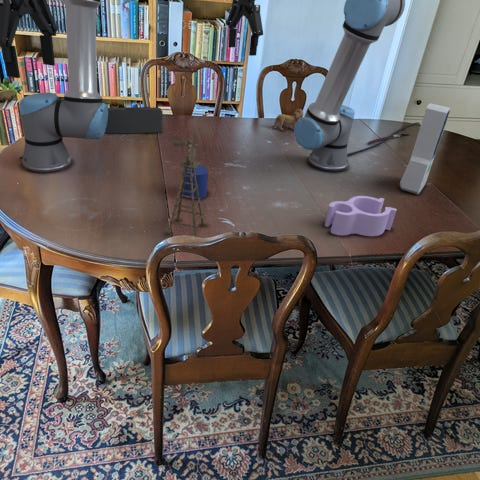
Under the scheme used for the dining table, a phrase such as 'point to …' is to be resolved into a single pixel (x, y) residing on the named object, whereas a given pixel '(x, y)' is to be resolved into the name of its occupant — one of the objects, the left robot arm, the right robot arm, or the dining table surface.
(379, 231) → the clip
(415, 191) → the electronic device
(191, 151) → the miniature windmill
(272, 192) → the dining table surface
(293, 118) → the lion figurine
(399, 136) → the sword
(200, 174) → the can
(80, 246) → the dining table surface
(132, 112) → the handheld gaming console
